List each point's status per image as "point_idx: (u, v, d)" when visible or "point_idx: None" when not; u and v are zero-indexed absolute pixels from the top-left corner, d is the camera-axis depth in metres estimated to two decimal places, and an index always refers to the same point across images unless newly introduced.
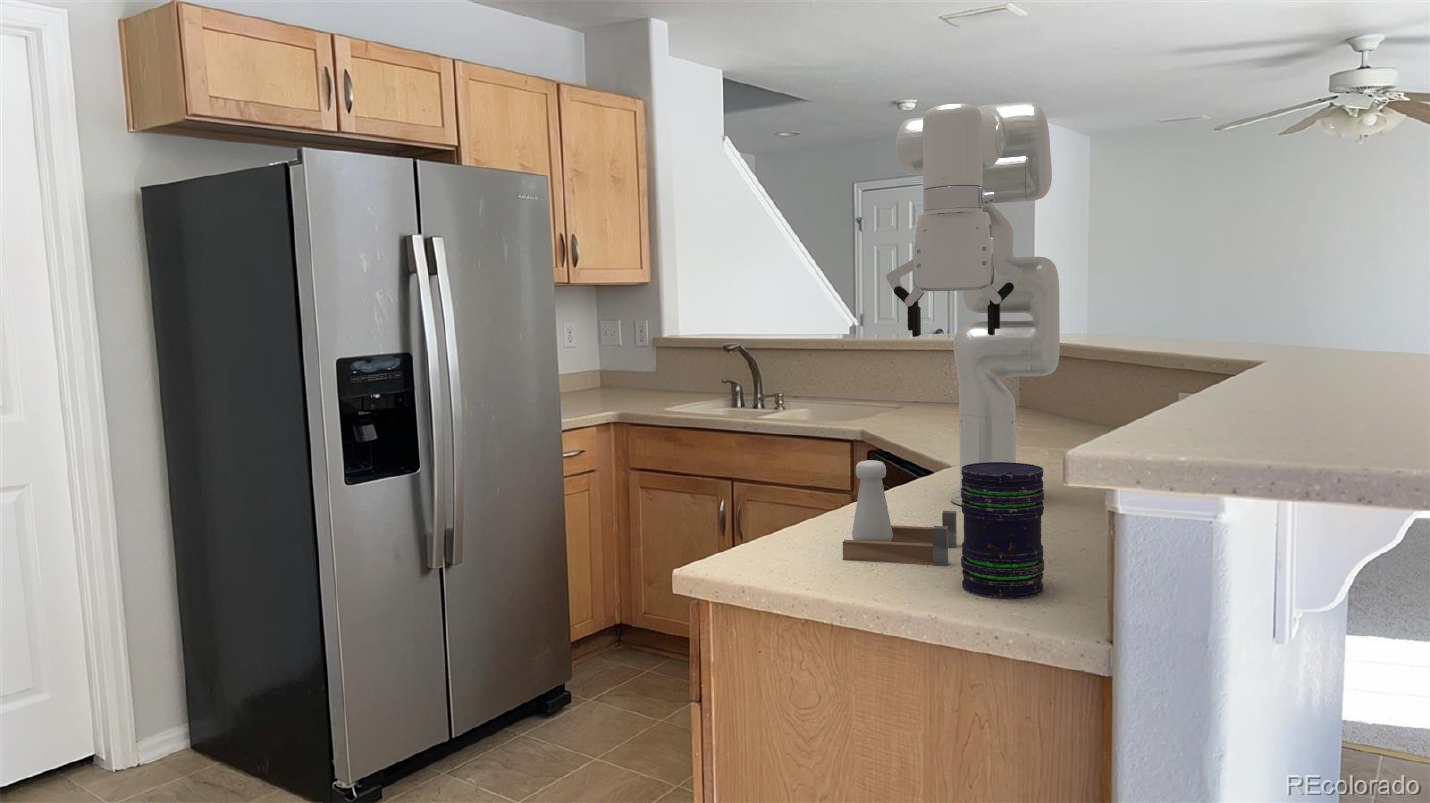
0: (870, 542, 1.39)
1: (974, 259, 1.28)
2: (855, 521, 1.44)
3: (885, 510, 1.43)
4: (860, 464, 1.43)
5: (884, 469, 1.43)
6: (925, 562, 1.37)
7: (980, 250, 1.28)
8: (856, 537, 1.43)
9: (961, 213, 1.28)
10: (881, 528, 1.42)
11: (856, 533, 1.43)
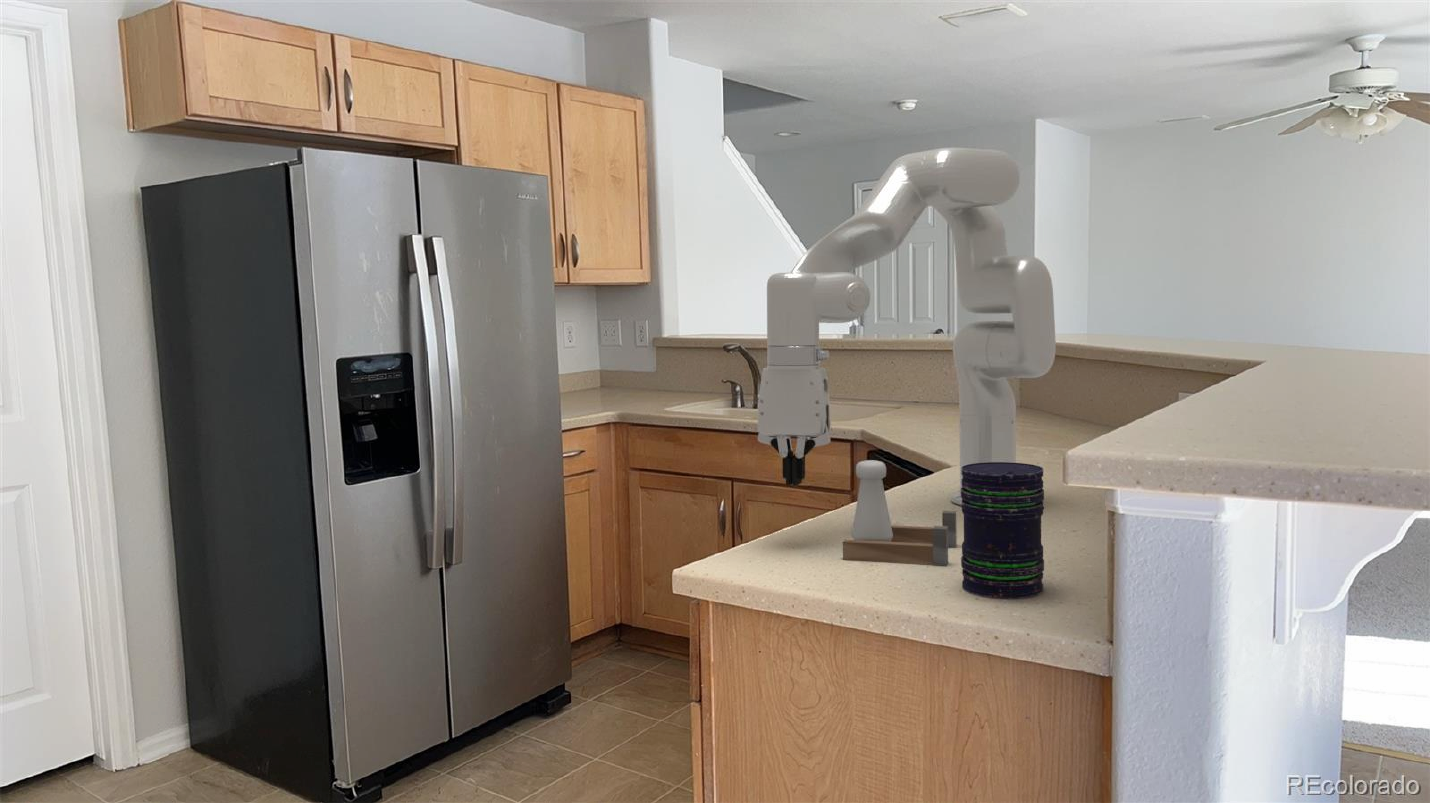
0: (870, 542, 1.39)
1: (809, 411, 1.43)
2: (855, 521, 1.44)
3: (885, 510, 1.43)
4: (860, 464, 1.43)
5: (884, 469, 1.43)
6: (925, 562, 1.37)
7: (814, 403, 1.43)
8: (856, 537, 1.43)
9: (797, 369, 1.43)
10: (881, 528, 1.42)
11: (856, 533, 1.43)
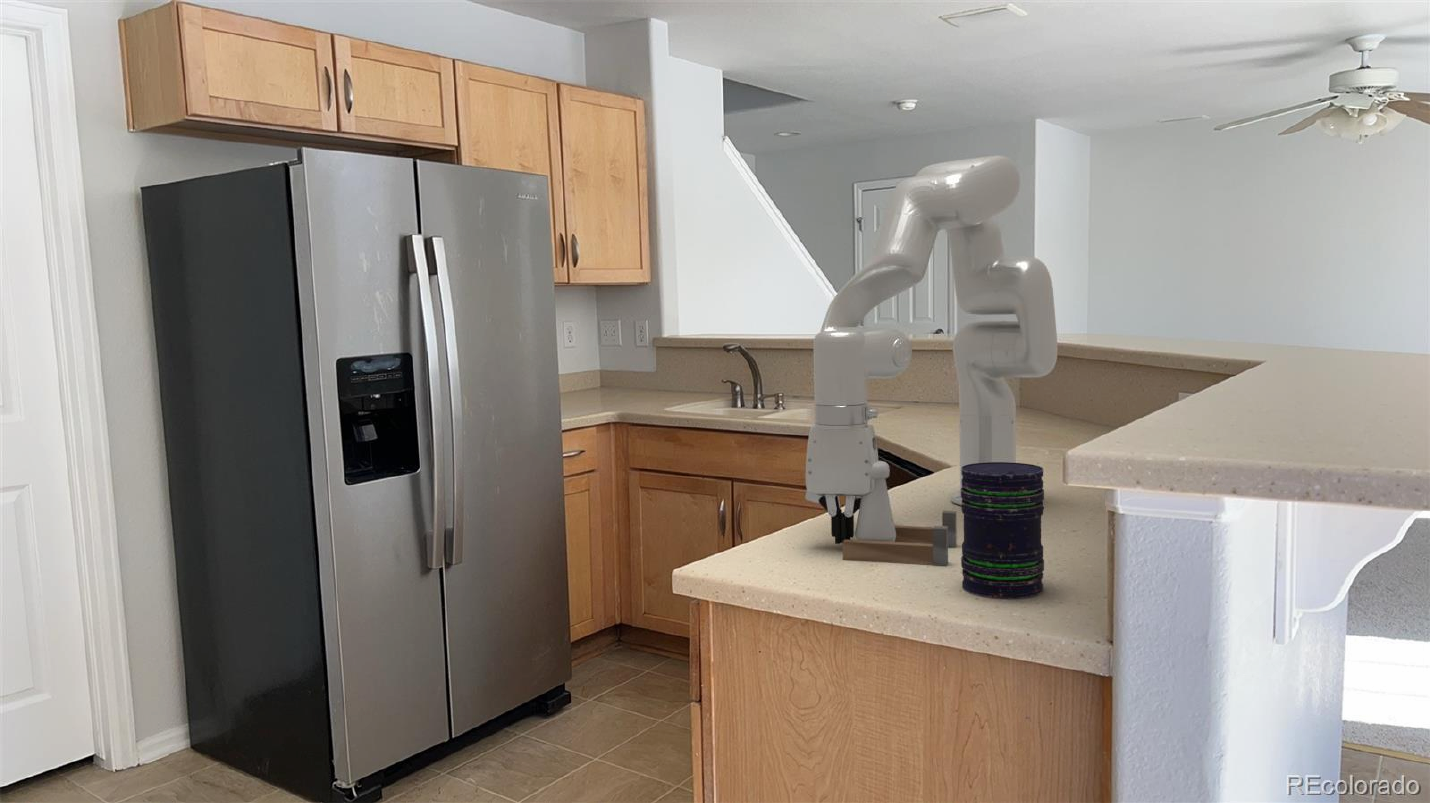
0: (870, 542, 1.39)
1: (858, 470, 1.42)
2: (858, 521, 1.44)
3: (889, 510, 1.43)
4: None
5: (888, 469, 1.43)
6: (925, 562, 1.37)
7: (863, 462, 1.42)
8: (859, 538, 1.43)
9: (846, 429, 1.42)
10: (885, 529, 1.42)
11: (859, 534, 1.43)
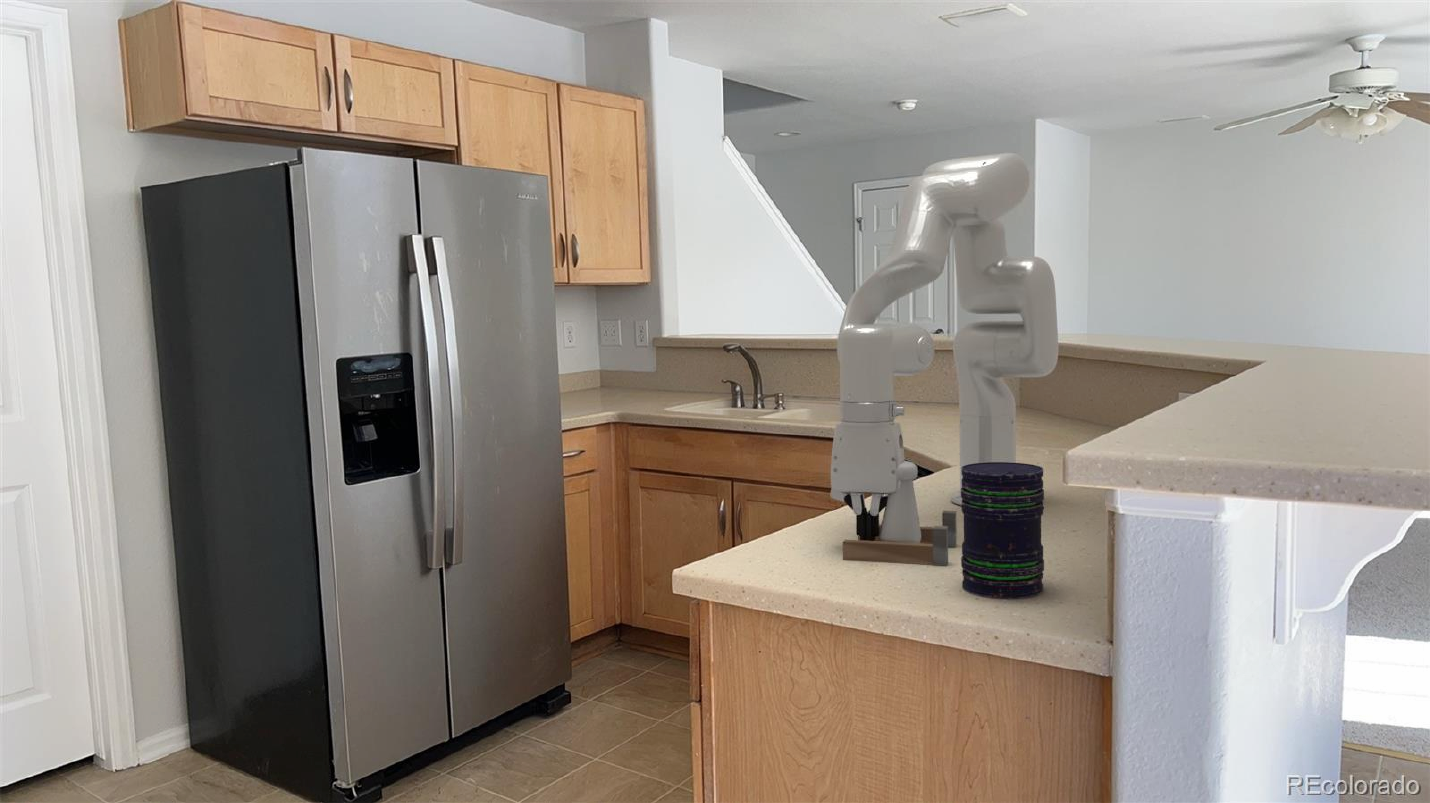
0: (870, 542, 1.39)
1: (884, 468, 1.40)
2: (884, 522, 1.42)
3: (915, 512, 1.42)
4: None
5: (916, 470, 1.41)
6: (925, 562, 1.37)
7: (890, 460, 1.40)
8: (885, 539, 1.41)
9: (873, 426, 1.40)
10: (912, 530, 1.40)
11: (885, 535, 1.41)
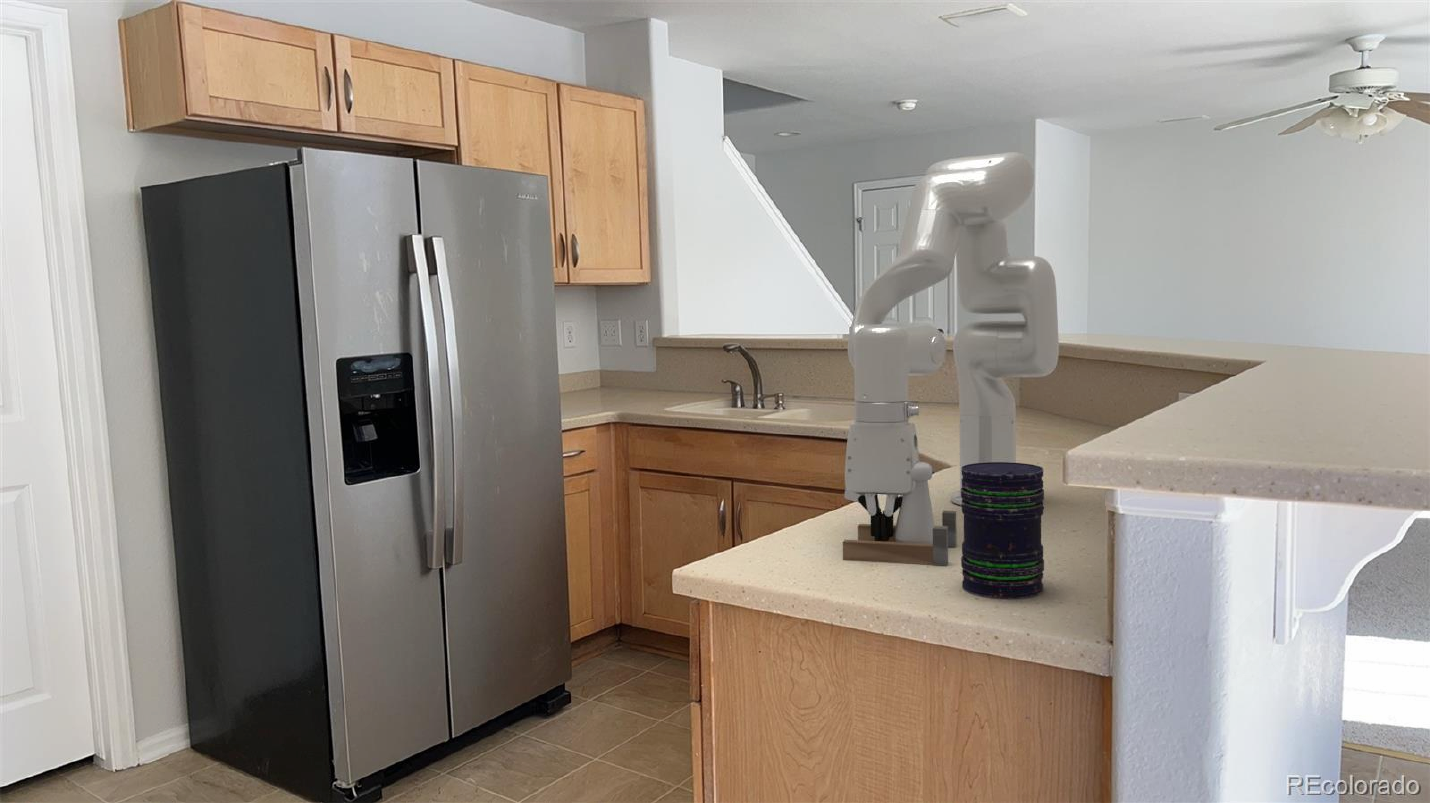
0: (870, 542, 1.39)
1: (899, 468, 1.40)
2: (899, 523, 1.41)
3: (930, 512, 1.41)
4: None
5: (931, 471, 1.40)
6: (925, 562, 1.37)
7: (905, 460, 1.39)
8: (900, 540, 1.41)
9: (887, 426, 1.40)
10: (927, 531, 1.40)
11: (900, 536, 1.41)
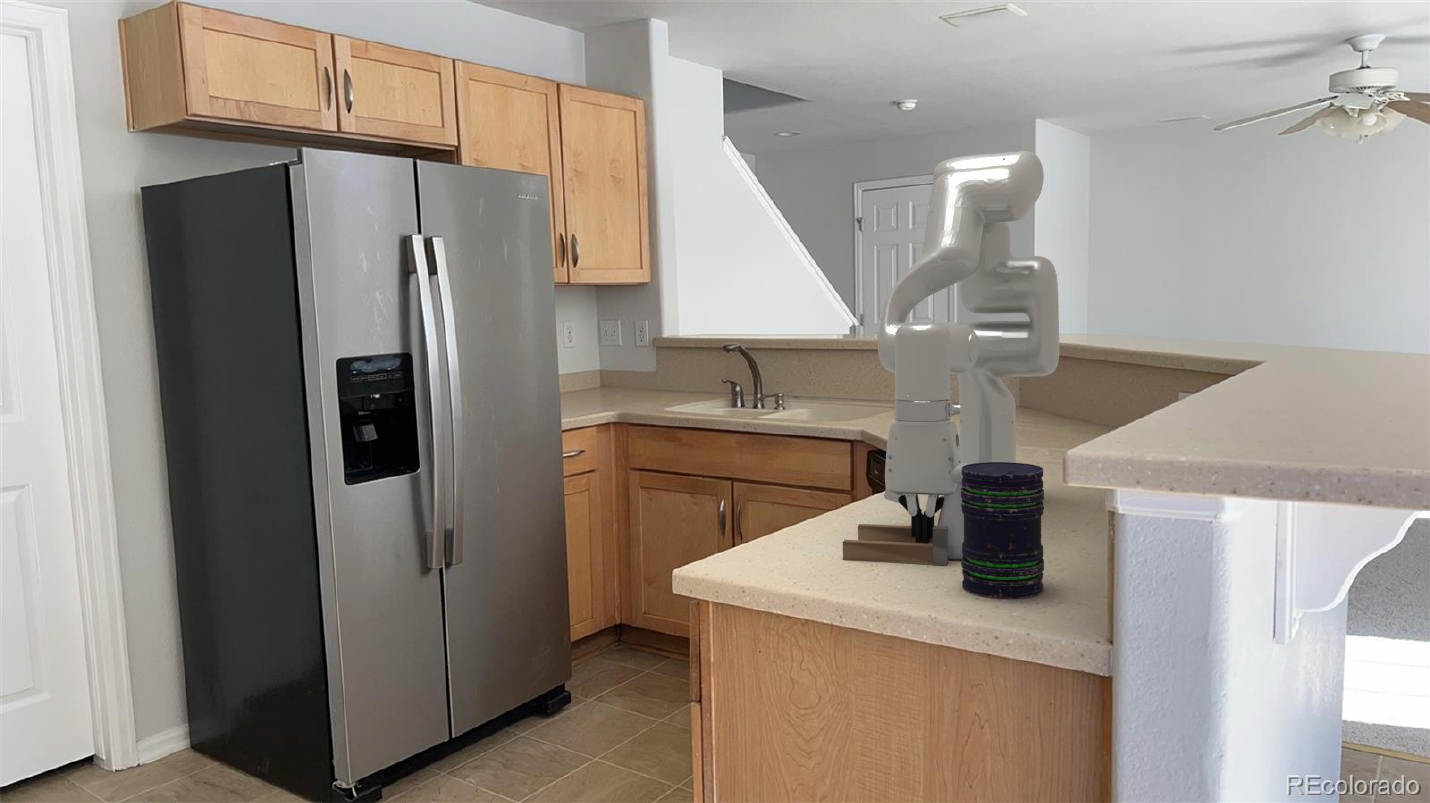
0: (870, 542, 1.39)
1: (941, 468, 1.38)
2: (940, 525, 1.39)
3: None
4: None
5: None
6: (925, 562, 1.37)
7: (947, 460, 1.37)
8: None
9: (929, 425, 1.38)
10: None
11: None
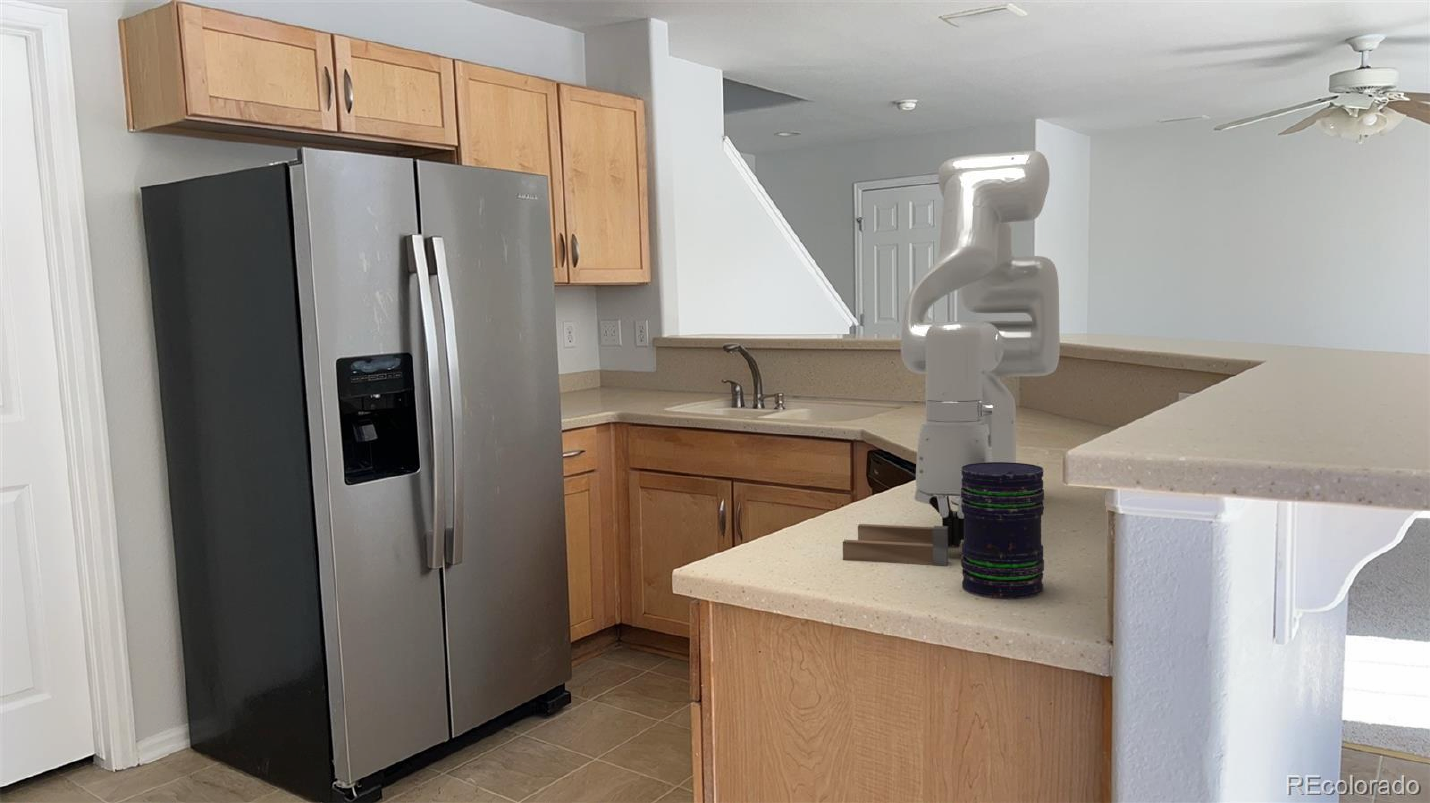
0: (870, 542, 1.39)
1: None
2: None
3: None
4: None
5: None
6: (925, 562, 1.37)
7: (979, 461, 1.36)
8: None
9: (961, 425, 1.36)
10: None
11: None
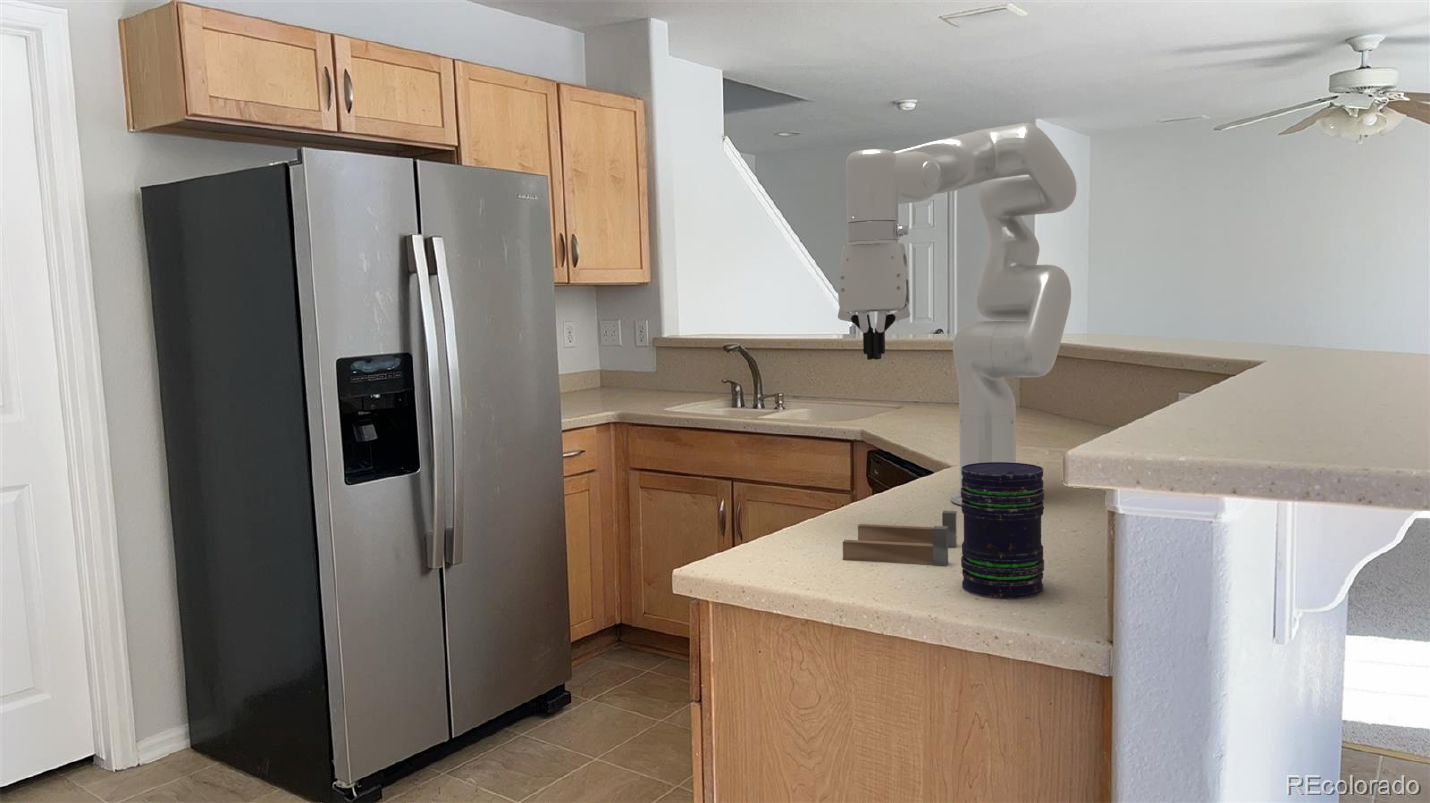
0: (870, 542, 1.39)
1: (890, 284, 1.47)
2: None
3: None
4: None
5: None
6: (925, 562, 1.37)
7: (895, 277, 1.47)
8: None
9: (878, 244, 1.47)
10: None
11: None
